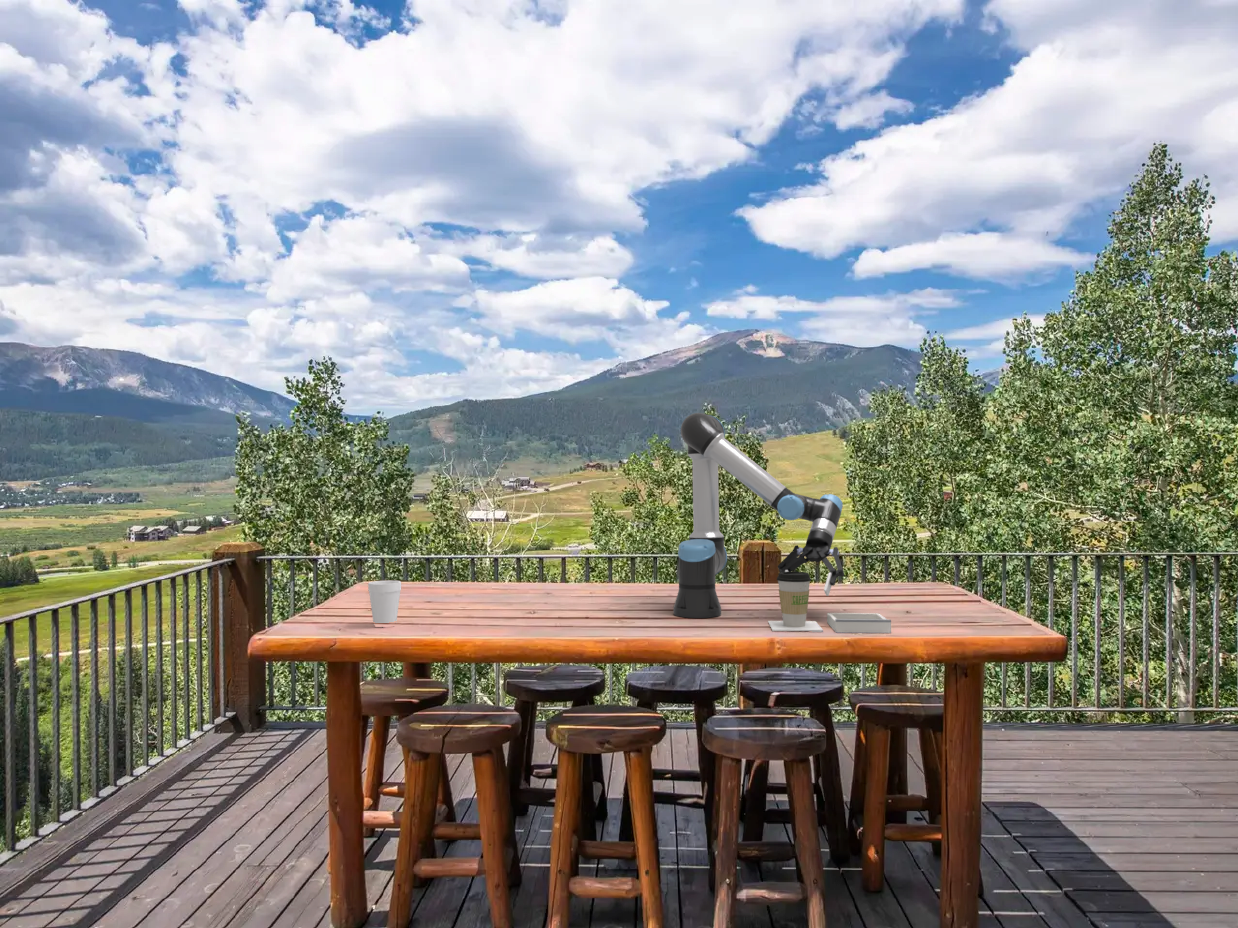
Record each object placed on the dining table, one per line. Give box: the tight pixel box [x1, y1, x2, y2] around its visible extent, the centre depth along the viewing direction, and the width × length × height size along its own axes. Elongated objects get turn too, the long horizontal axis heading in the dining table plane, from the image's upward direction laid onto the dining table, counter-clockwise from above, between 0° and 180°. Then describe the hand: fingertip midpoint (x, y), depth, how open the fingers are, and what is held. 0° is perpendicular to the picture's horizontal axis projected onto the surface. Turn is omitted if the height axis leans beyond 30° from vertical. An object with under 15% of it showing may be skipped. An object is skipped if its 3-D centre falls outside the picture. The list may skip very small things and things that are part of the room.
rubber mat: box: [767, 620, 824, 633], centre depth 235 cm, size 14×14×1 cm
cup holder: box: [826, 612, 892, 634], centre depth 233 cm, size 15×15×4 cm
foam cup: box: [367, 579, 402, 623], centre depth 242 cm, size 10×9×13 cm
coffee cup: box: [776, 571, 812, 627], centre depth 235 cm, size 10×10×15 cm
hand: (803, 591), depth 240 cm, fingers open, 13 cm apart
